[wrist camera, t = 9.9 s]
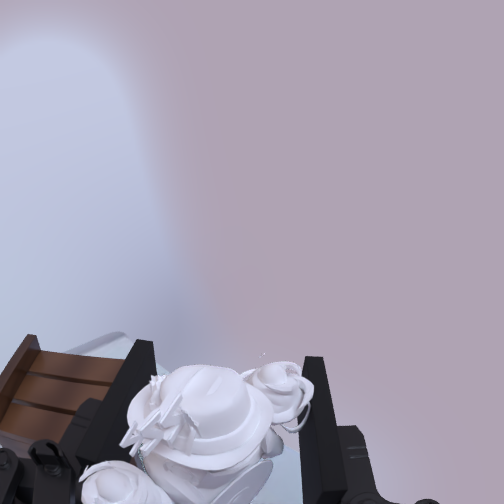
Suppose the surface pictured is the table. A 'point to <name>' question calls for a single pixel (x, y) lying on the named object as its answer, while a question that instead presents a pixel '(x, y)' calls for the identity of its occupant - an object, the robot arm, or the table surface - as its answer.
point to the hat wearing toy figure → (202, 436)
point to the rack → (49, 393)
